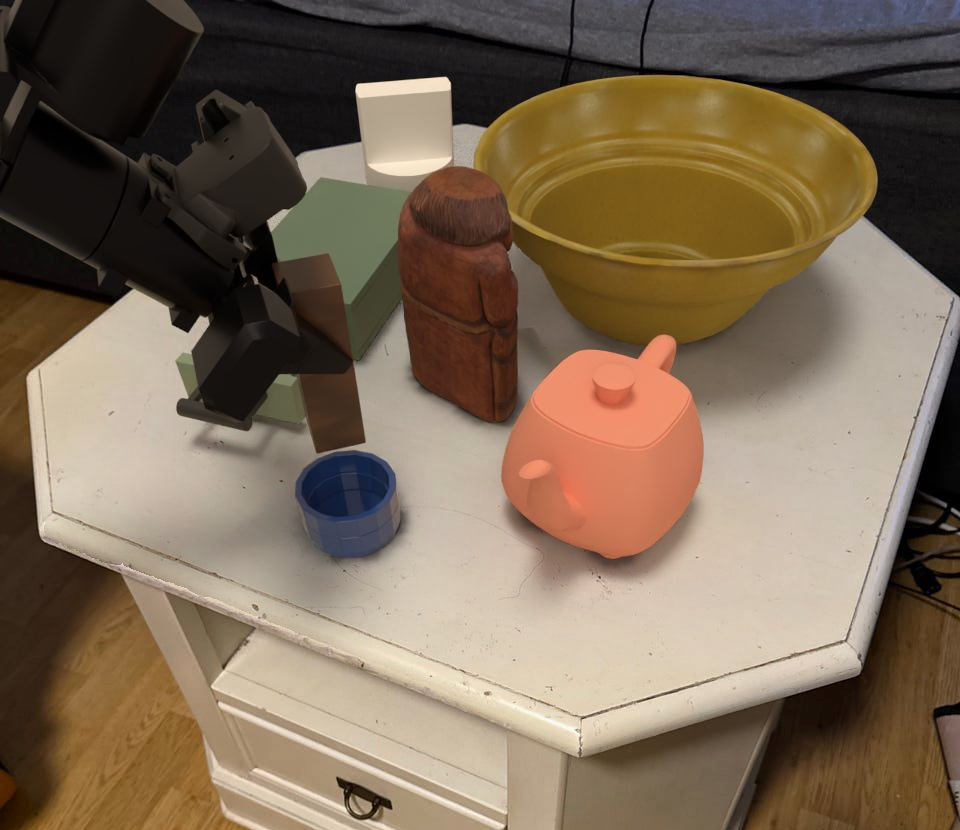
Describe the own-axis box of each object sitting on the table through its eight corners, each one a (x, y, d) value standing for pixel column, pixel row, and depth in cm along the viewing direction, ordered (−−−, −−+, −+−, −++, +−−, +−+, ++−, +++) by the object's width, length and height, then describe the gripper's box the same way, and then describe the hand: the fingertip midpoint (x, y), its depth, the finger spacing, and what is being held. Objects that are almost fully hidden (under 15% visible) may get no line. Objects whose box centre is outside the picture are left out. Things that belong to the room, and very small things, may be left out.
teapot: (443, 559, 62) (432, 429, 52) (581, 408, 72) (594, 273, 62) (604, 642, 58) (626, 516, 48) (729, 468, 67) (768, 333, 57)
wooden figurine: (543, 396, 73) (555, 181, 58) (494, 435, 70) (493, 219, 55) (441, 341, 77) (428, 129, 63) (392, 376, 75) (366, 162, 60)
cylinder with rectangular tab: (450, 187, 93) (445, 63, 84) (461, 231, 88) (456, 104, 78) (368, 195, 93) (352, 70, 83) (373, 239, 87) (358, 112, 78)
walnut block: (316, 454, 59) (281, 295, 49) (306, 422, 61) (271, 263, 51) (366, 443, 59) (341, 283, 50) (355, 411, 61) (328, 252, 52)
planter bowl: (523, 196, 92) (526, 54, 81) (832, 235, 87) (881, 88, 76) (433, 381, 74) (421, 231, 63) (816, 445, 69) (876, 292, 58)
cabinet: (359, 361, 76) (350, 304, 71) (243, 336, 78) (227, 280, 74) (434, 250, 86) (430, 195, 82) (329, 232, 88) (320, 176, 84)
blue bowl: (304, 563, 62) (293, 525, 59) (306, 493, 67) (296, 454, 63) (403, 555, 63) (398, 516, 59) (398, 485, 67) (393, 446, 64)
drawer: (276, 458, 68) (266, 420, 64) (162, 430, 70) (146, 392, 67) (384, 304, 79) (379, 266, 76) (283, 285, 81) (274, 246, 78)
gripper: (206, 159, 35) (467, 339, 46) (162, -2, 46) (384, 176, 57) (83, 359, 40) (345, 479, 51) (69, 173, 51) (289, 305, 62)
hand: (342, 349), depth 55 cm, fingers closed on walnut block, 3 cm apart
